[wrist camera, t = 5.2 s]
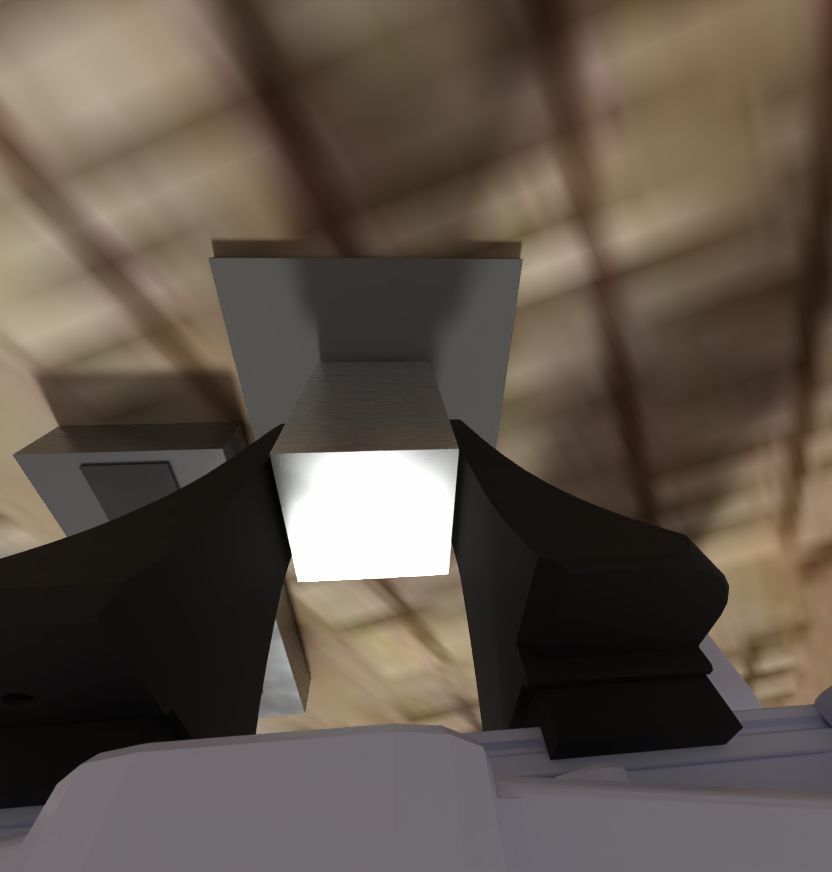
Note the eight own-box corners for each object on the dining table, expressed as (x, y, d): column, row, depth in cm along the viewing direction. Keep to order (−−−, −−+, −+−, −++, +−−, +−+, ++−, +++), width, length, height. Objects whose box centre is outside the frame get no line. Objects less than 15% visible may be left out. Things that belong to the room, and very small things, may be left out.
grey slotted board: (241, 422, 15) (221, 450, 13) (310, 679, 25) (304, 715, 23) (58, 426, 14) (9, 456, 12) (205, 687, 24) (190, 724, 22)
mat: (518, 258, 12) (522, 259, 12) (486, 490, 17) (489, 495, 17) (213, 256, 12) (208, 258, 11) (273, 498, 17) (270, 504, 16)
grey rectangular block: (429, 361, 13) (458, 448, 8) (426, 454, 15) (448, 574, 10) (316, 362, 13) (269, 454, 8) (328, 457, 15) (298, 581, 10)
